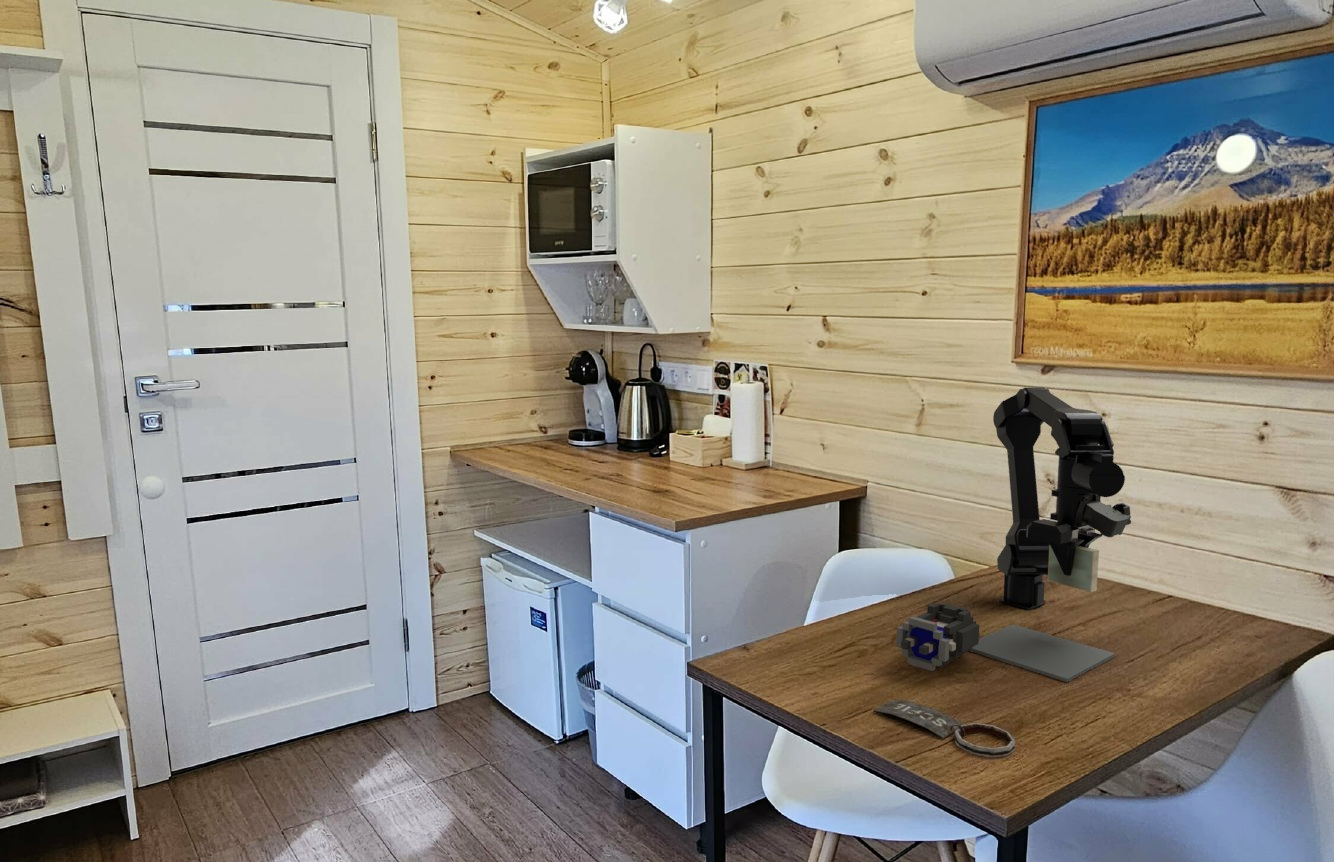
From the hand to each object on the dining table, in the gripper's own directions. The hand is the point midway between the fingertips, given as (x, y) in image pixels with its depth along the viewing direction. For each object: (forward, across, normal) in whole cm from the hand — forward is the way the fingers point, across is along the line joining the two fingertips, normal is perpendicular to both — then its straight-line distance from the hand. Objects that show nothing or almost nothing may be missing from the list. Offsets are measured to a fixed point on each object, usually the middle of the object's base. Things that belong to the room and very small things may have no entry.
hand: (1070, 574), depth 152 cm
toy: (+12, -28, +6) cm, 31 cm away
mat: (+12, -10, -1) cm, 15 cm away
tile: (+2, 0, 0) cm, 2 cm away
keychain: (+12, -45, -10) cm, 48 cm away
